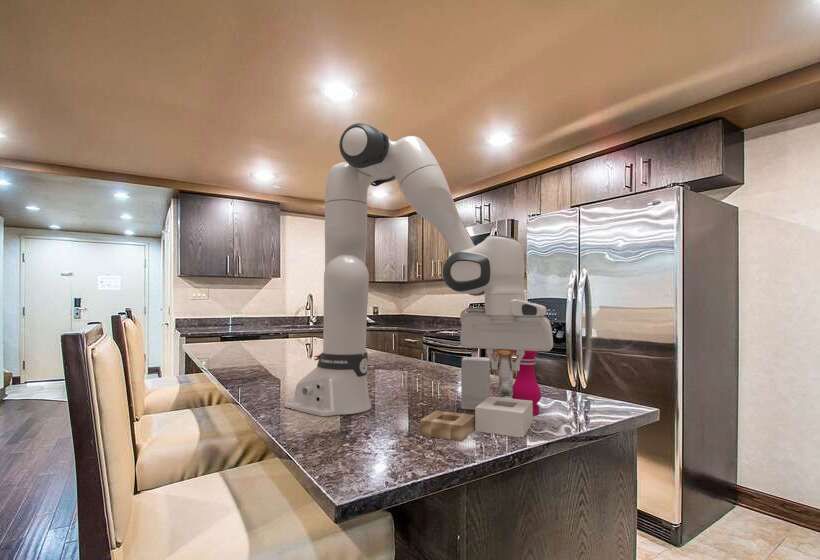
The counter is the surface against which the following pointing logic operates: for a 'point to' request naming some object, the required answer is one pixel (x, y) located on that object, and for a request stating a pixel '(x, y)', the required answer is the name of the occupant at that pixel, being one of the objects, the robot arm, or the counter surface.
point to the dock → (504, 416)
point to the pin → (505, 372)
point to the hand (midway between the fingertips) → (505, 370)
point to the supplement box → (474, 381)
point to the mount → (447, 425)
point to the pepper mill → (527, 381)
